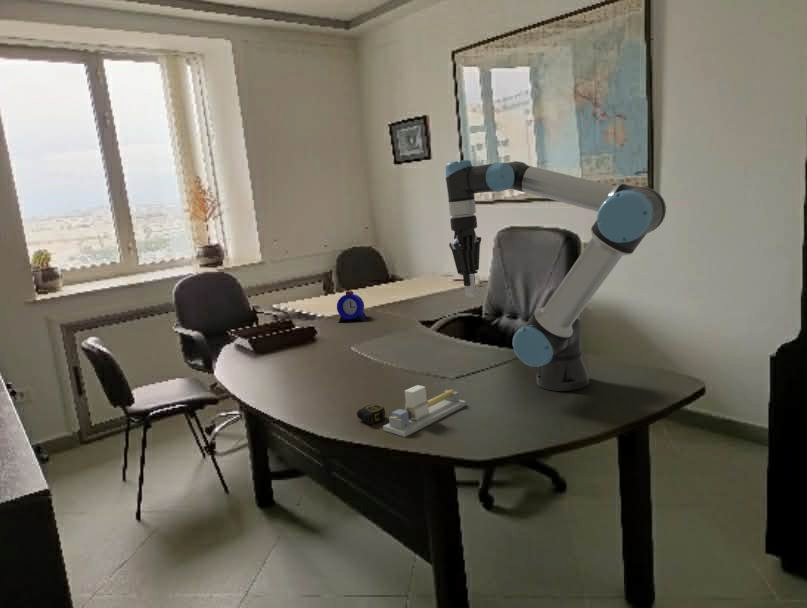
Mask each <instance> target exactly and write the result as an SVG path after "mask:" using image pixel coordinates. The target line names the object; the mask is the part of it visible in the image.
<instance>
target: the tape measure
mask: <svg viewBox="0 0 807 608" xmlns="http://www.w3.org/2000/svg"><path fill="white" fill-rule="evenodd" d="M356 416H357V418H358V419H359V420H360V421H364V422H366V423H367V424H368V425H369V424H370V425H373V424H374V423H378V422H381V421H382V420H385V417H386V411H385V408H384V405H381V404H377V403H376V404H375V403H374V404H368V405H365V406H364V407H362V408H359V410H358V411H356Z"/></svg>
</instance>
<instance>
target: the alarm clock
mask: <svg viewBox="0 0 807 608" xmlns="http://www.w3.org/2000/svg"><path fill="white" fill-rule="evenodd" d="M364 302H365V301H364V300H363V299H362V297H360V295H358V294H354V292H353V291H352V290H348V291H345V294H344V295H342V296H340V298H339V299H338V301H337V304H336V310H337V311H336V312H337V313H338V315H339V316H340V317H339V320H338V324H339V323H341V322H344V321H346V320H352V319H355V320H357V321H360V322H363V321H364V320H365V319H366V318H367V315H366V314H365V313H364V310H365V303H364Z"/></svg>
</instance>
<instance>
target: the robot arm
mask: <svg viewBox="0 0 807 608" xmlns="http://www.w3.org/2000/svg"><path fill="white" fill-rule="evenodd" d="M445 182H446V189H447V197H448V210H449V216H450V219H449V220H450V229H451V231H453V232H454V235H453V241H452V242H449V245H448V246H449V249H450V250H451V253H452V257H453V260H454V264H455V268H456V272H457V275H460V276H462V279H463V285H464V292H465V297H470V298H474V297H477V291H476V276H475V274H478V271H479V269H480V255H481V254H480V253H481V252H480V251H481V249H480V248H481V242H482V237H481V236H478V235H476V231H475V229H477V228H478V221H477V216H476V213H477V208H476V199H475V194H481V193H493V192H496V193H498V192H503V191H508V190H514V191H519V192H522V193H526V194H529V195H533V196H537V197H542V198H545V199H549V200H551V201H556V202H560V203H564V204H567V205H571V206H575V207H578V208H583V209H586V210H589V211H594V212H597V216H596V220H595V222H594V224H593V225H592V226H591V227H590V231H591V236H592V237H591V238H590V240H589V242H588V243H587V245H586V246H585V247H584V249H583V250H582V252H581V253H580V255H579V256H578V258H577V259H576V261H575V262H574V263H573V265H572V266H571V268H570V270H569V271H568V272H567V274H566V275H565V277H564V278H563V280H562V281H561V282H560V284H559V285H558V287H556V290H555V291H554V293H552V296H551V297H550V299H548V302H547V303H546V304H545V306H544V307H538V308H536V309H535V310H534V312H533V314H532V315H531V316H530V318H529V319H528V320H527V322H526V323H525V325H523V326H521V327H520V328H519V329H517V331H516V332H515V333H514V334H513V337H512V347H513V350H514V355H515V356H516V357H517V358H518V359H519V361H521V362H522V363H523V364H525V365H527V366H529V367H532V368H538V369H537V374H536V385H537V386H538V387H540V388H542V389H544V390H548V391H553V392H570V391H577V390H580V389H583V388H585V387H587V386H588V385H589V384H590V377H589V373H588V370H587V367H586V365H585V362H584V360H583V356H582V334H581V333H582V332H581V317H580V315H581V313H582V312H583V311H584V309H585V308H586V307H587V306H588V304H589V302H590V301H591V300H592V298H593V296H594V295H595V294H596V293H597V291H598V290H599V289H600V287H601V286H602V284H603V283H604V282H605V280H606V279H607V278H608V276H609V275H610V273H612V271H613V269H614V268H615V267H616V266H617V264H618V262H619V261H620V260H621V258H623V256H628V255H629V256H630V255H632V254H633V253H634V251H635V250H636V249H637V247H638V246H639V245H640V243H641V242H642V241H643V239H644V238H645V236H646V235H647V234H648V233H651V232H653V231H655V230H656V229H657V228H659V227H660V225H661V224H662V223H663V222H664V220H665V217H666V215H667V214H666V213H667V206H666V202H665V199H664V197H662V195H661V194H660V193H659V192H658V191H656V190H654V189H653V188H650V187H644V186H636V185H630V184H626V183H619V184H618V185H612V184H609V183H604V182H599V181H595V180H592V179H591V180H590V179H587V178H583V177H578V176H573V175H569V174H564V173H561V172H557V171H553V170H550V169H545V168H540V167H537V166H531V165H528V164H527V163H526V162H523V161H516V160H515V161H508V162H507V161H506V162H505V161H504V162H500V161H499V162H494V163H489V164H481V165H472V161H471V160H470V159H463V160H458V161H457V160H456V161H455V160H454V161H449V162H446V164H445Z"/></svg>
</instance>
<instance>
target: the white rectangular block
mask: <svg viewBox="0 0 807 608" xmlns="http://www.w3.org/2000/svg"><path fill="white" fill-rule="evenodd" d="M404 397H405V398H404V399H405V404H404V406H405V407H404V409H406V408H407V409H411V408H412V409H414V415H413V416H412V418H411V419H412V420H416V421H417V420H419V419H421V418H423V417H425V416H427V415H429V407H428V399H427V390H426V386H423V385H419V384H417V385H415V386H411V387H409V388H408V389H405V390H404Z"/></svg>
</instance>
